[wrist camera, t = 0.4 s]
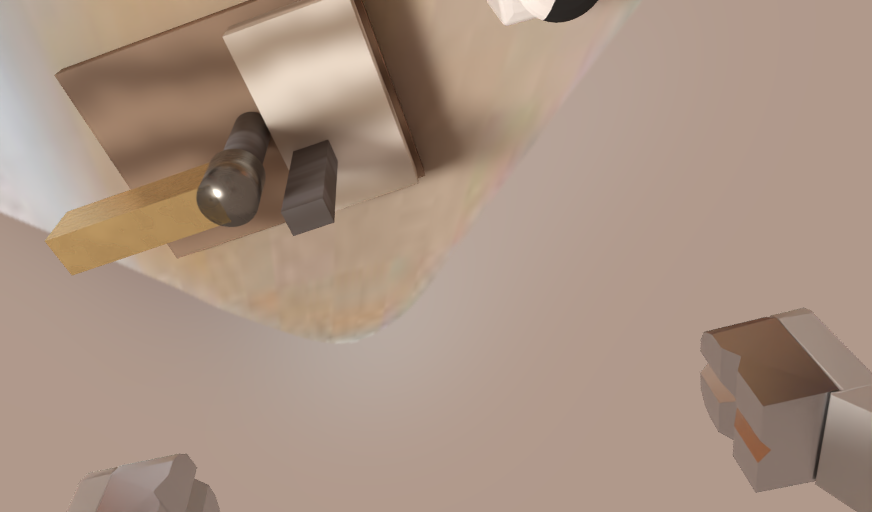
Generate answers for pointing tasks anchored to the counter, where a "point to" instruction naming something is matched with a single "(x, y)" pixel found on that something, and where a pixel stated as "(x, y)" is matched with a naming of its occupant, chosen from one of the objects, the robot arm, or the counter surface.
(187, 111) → the lock plate
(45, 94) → the counter surface
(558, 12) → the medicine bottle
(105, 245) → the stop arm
